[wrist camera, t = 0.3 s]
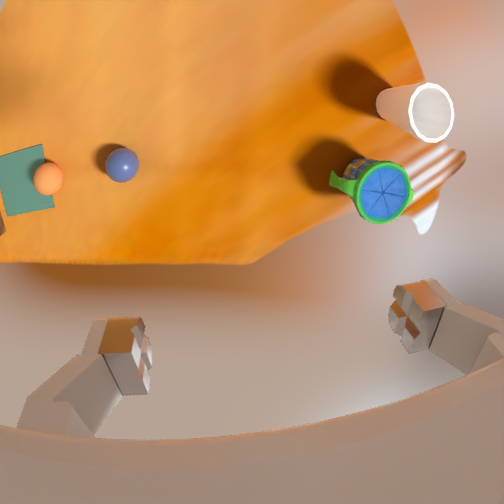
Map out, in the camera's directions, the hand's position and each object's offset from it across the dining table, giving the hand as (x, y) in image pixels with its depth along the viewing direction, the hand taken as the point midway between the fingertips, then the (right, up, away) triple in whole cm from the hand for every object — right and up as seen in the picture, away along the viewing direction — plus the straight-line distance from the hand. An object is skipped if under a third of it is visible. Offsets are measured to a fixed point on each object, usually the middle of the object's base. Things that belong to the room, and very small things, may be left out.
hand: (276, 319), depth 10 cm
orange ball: (-35, +14, +36) cm, 53 cm away
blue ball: (-21, +16, +38) cm, 46 cm away
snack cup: (+19, +16, +47) cm, 54 cm away
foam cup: (+24, +29, +41) cm, 56 cm away
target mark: (-43, +15, +38) cm, 59 cm away
